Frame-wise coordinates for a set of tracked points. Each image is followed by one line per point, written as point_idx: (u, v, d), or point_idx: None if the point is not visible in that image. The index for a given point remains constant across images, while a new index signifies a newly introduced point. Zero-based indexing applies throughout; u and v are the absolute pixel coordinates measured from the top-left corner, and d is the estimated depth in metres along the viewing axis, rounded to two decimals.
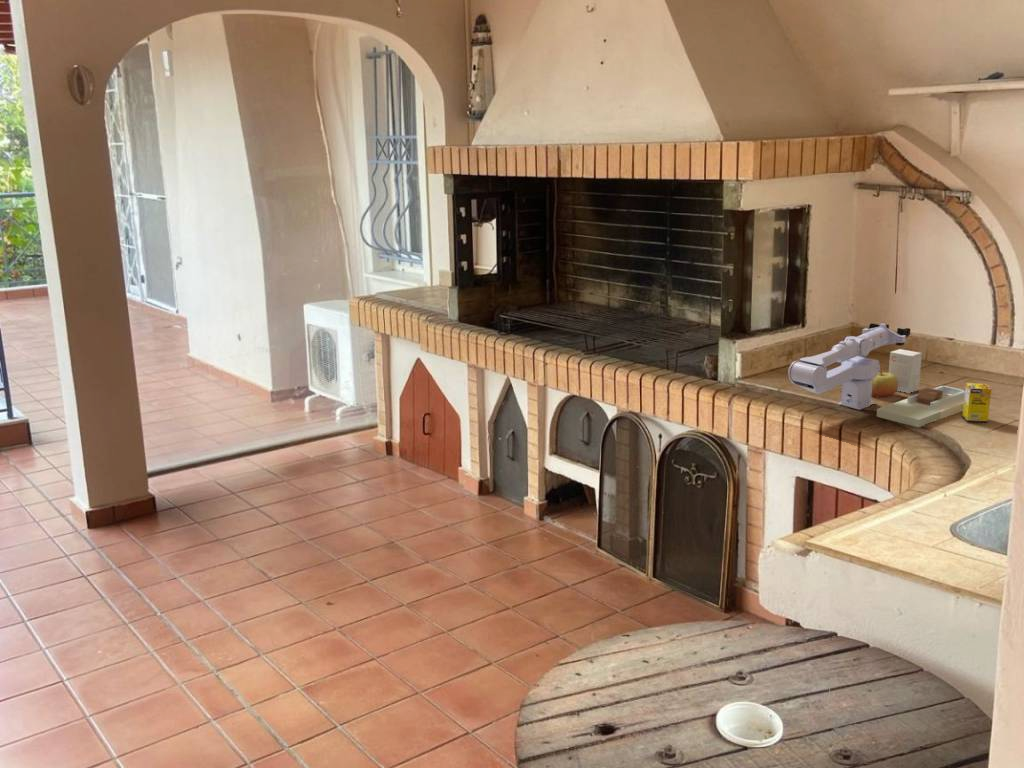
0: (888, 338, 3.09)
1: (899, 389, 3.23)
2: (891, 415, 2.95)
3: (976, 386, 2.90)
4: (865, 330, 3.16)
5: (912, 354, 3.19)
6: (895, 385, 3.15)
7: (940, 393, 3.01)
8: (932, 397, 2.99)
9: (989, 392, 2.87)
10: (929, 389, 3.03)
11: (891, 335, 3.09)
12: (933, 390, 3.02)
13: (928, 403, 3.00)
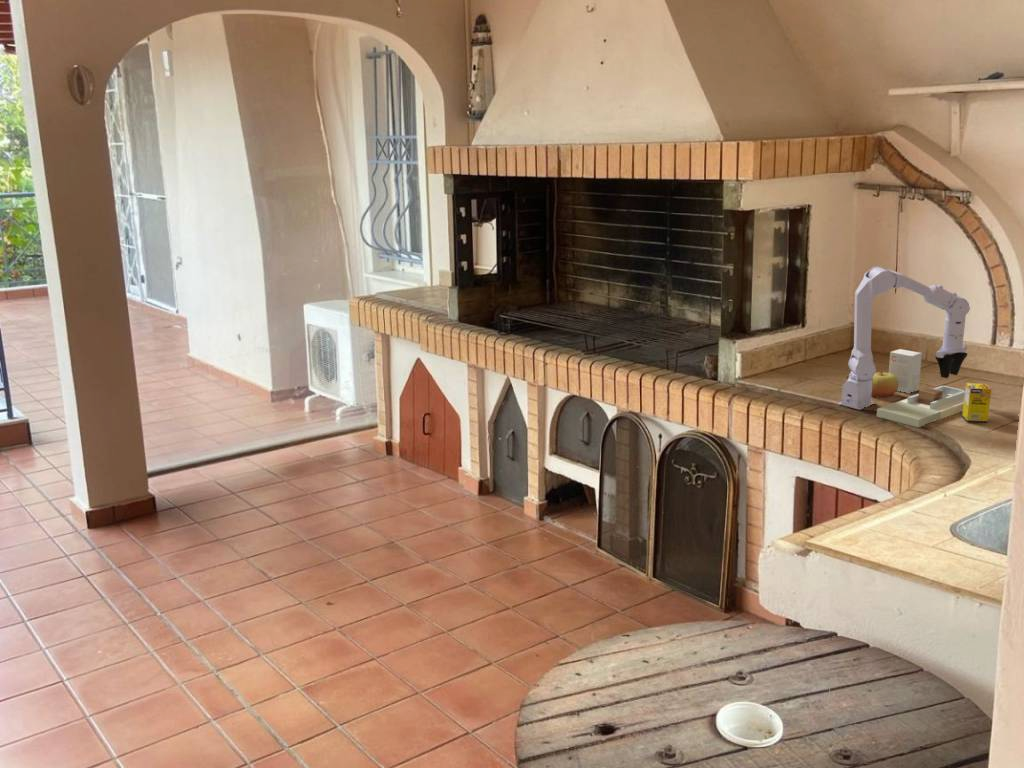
0: (947, 346, 3.02)
1: (899, 389, 3.23)
2: (891, 415, 2.95)
3: (976, 386, 2.90)
4: (964, 346, 3.07)
5: (912, 354, 3.19)
6: (895, 385, 3.15)
7: (940, 393, 3.01)
8: (932, 397, 2.99)
9: (989, 392, 2.87)
10: (929, 389, 3.03)
11: (948, 350, 3.02)
12: (933, 390, 3.02)
13: (928, 403, 3.00)
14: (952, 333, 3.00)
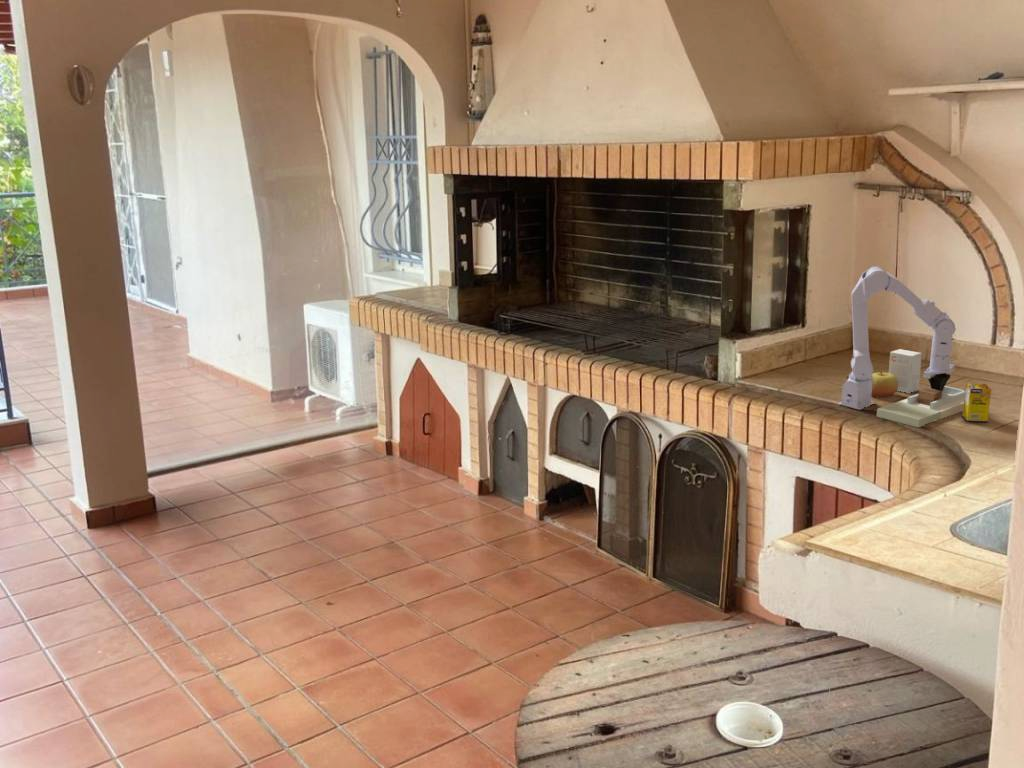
0: (934, 367, 3.00)
1: (899, 389, 3.23)
2: (891, 415, 2.95)
3: (976, 386, 2.90)
4: (952, 366, 3.05)
5: (912, 354, 3.19)
6: (895, 385, 3.15)
7: (940, 393, 3.00)
8: (931, 397, 2.99)
9: (989, 392, 2.87)
10: (928, 389, 3.03)
11: (935, 371, 3.00)
12: (933, 390, 3.02)
13: (928, 403, 3.00)
14: (937, 353, 2.98)
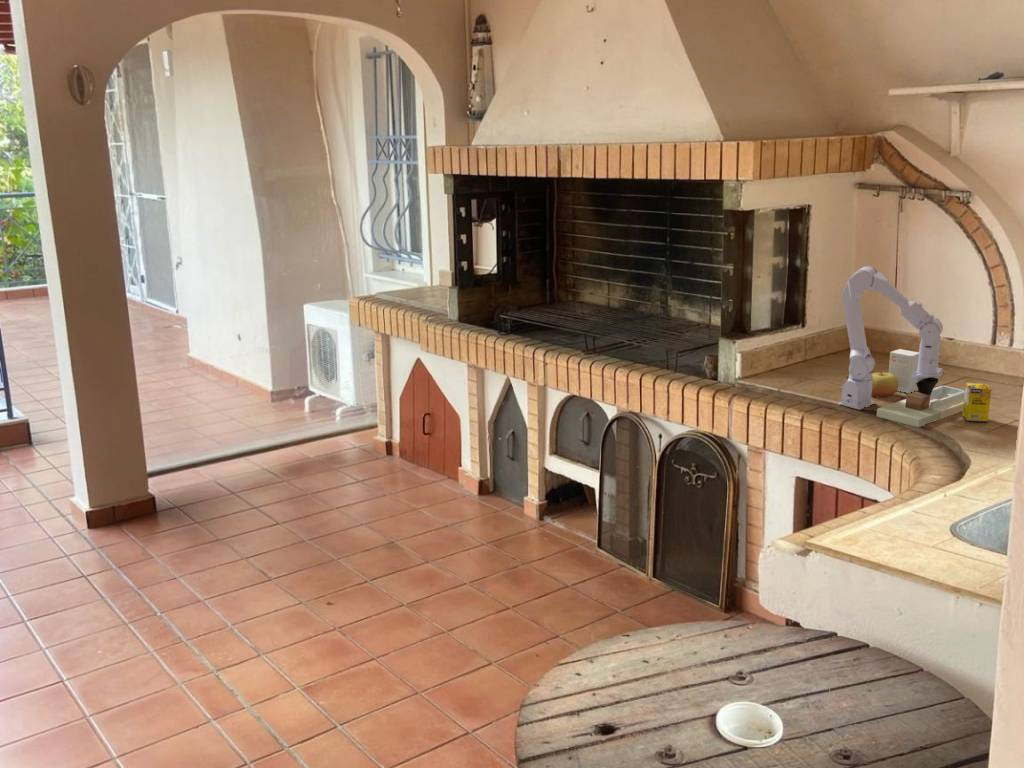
0: (922, 371, 2.96)
1: (899, 389, 3.23)
2: (891, 415, 2.95)
3: (976, 386, 2.90)
4: (940, 370, 3.01)
5: (912, 354, 3.19)
6: (895, 385, 3.15)
7: (928, 397, 2.96)
8: (919, 401, 2.95)
9: (989, 392, 2.87)
10: (916, 393, 2.99)
11: (923, 375, 2.96)
12: (920, 394, 2.98)
13: (915, 408, 2.96)
14: (922, 357, 2.95)
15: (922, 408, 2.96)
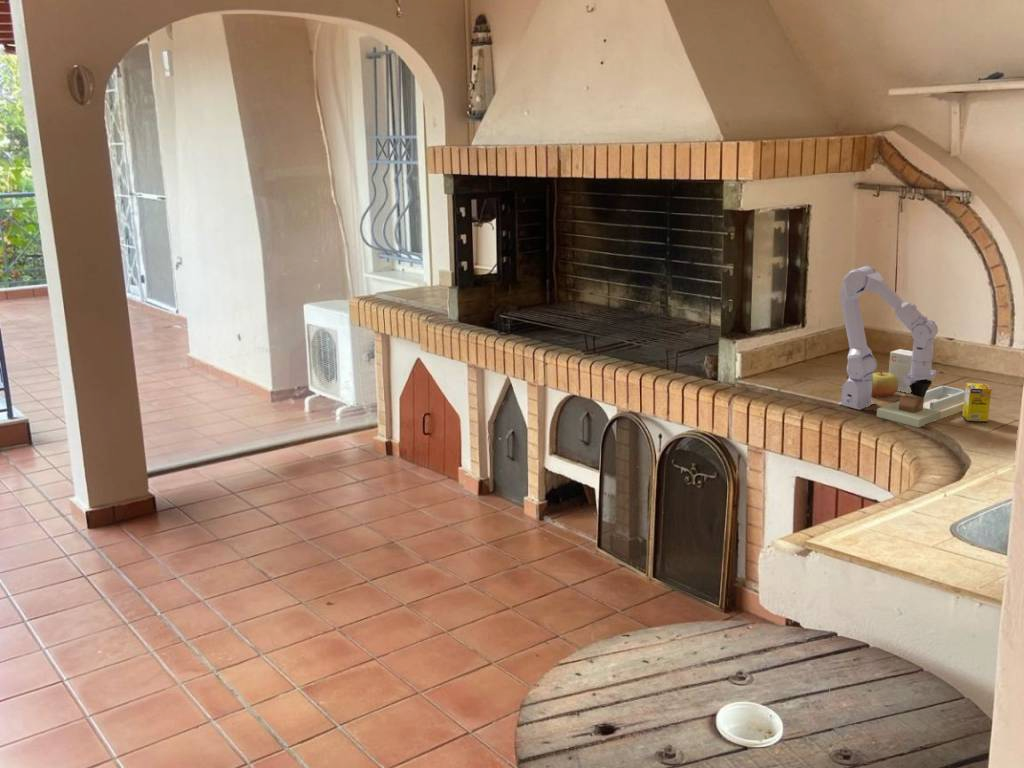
0: (915, 373, 2.94)
1: (899, 389, 3.23)
2: (891, 415, 2.95)
3: (976, 386, 2.90)
4: (933, 372, 2.99)
5: None
6: (895, 385, 3.15)
7: (921, 400, 2.94)
8: (913, 404, 2.93)
9: (989, 392, 2.87)
10: (910, 396, 2.96)
11: (916, 377, 2.93)
12: (914, 397, 2.95)
13: (909, 410, 2.94)
14: (914, 358, 2.93)
15: (916, 411, 2.94)
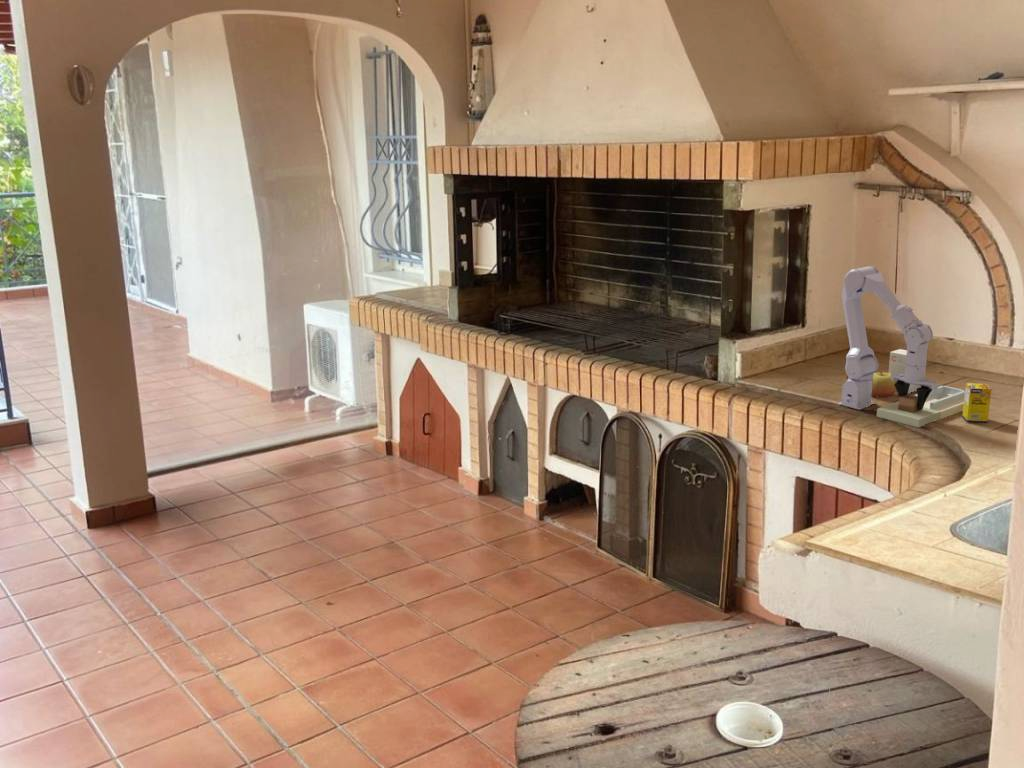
0: (923, 377, 2.92)
1: None
2: (891, 415, 2.95)
3: (976, 386, 2.90)
4: None
5: None
6: None
7: None
8: (912, 404, 2.93)
9: (989, 392, 2.87)
10: (909, 396, 2.97)
11: (925, 381, 2.92)
12: (913, 397, 2.95)
13: (908, 410, 2.94)
14: (907, 362, 2.92)
15: (915, 410, 2.94)
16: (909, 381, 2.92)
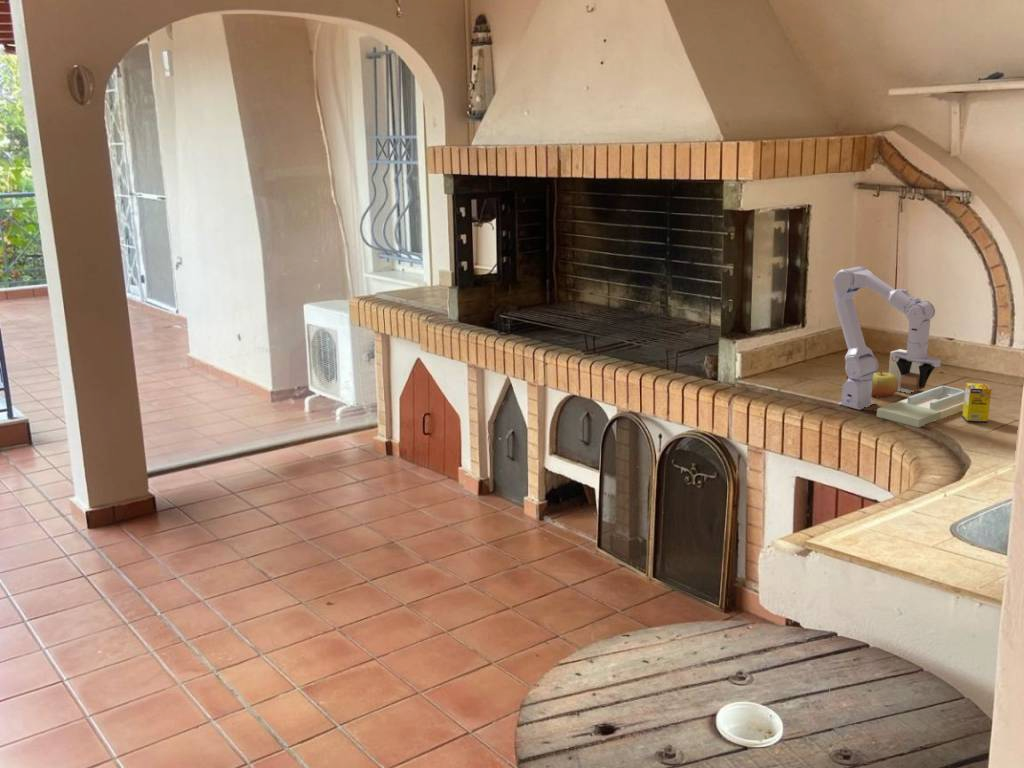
0: (925, 355, 2.90)
1: (899, 389, 3.23)
2: (891, 415, 2.95)
3: (976, 386, 2.90)
4: (898, 353, 2.98)
5: None
6: (895, 385, 3.15)
7: None
8: (914, 382, 2.91)
9: (989, 392, 2.87)
10: (911, 374, 2.95)
11: None
12: (916, 375, 2.94)
13: (910, 388, 2.92)
14: (909, 339, 2.90)
15: (917, 388, 2.92)
16: (911, 359, 2.90)
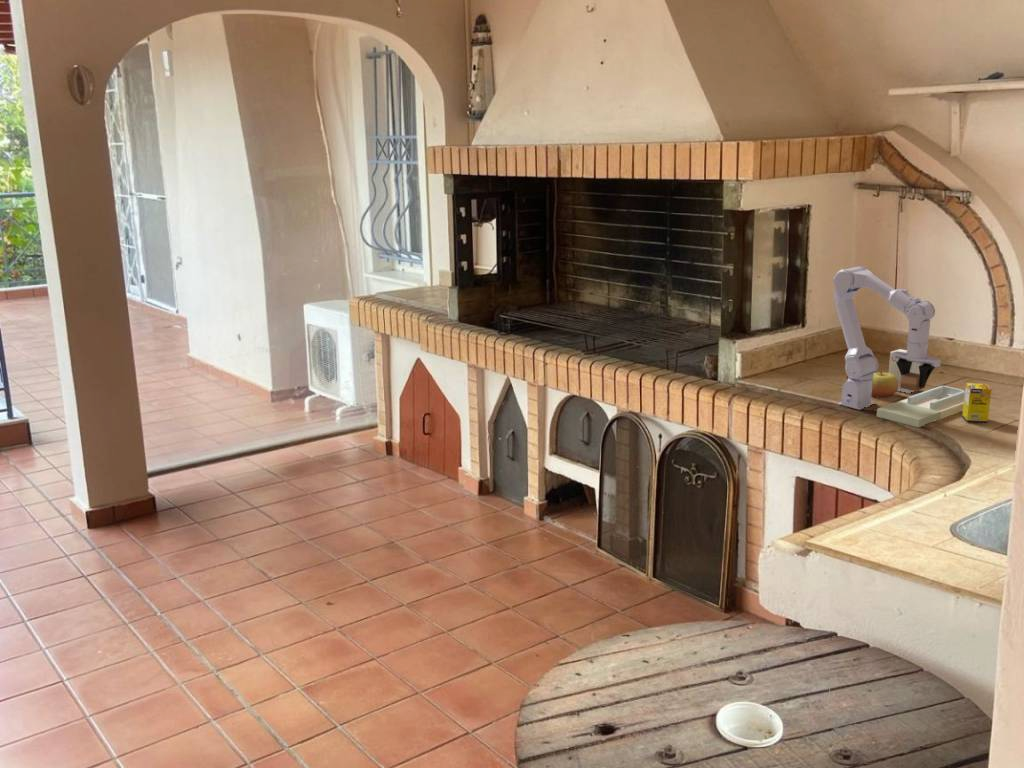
0: (925, 355, 2.90)
1: (899, 389, 3.23)
2: (891, 415, 2.95)
3: (976, 386, 2.90)
4: (898, 353, 2.98)
5: None
6: (895, 385, 3.15)
7: None
8: (914, 382, 2.91)
9: (989, 392, 2.87)
10: (911, 374, 2.95)
11: None
12: (916, 375, 2.94)
13: (910, 388, 2.92)
14: (909, 339, 2.90)
15: (917, 388, 2.92)
16: (911, 359, 2.90)
